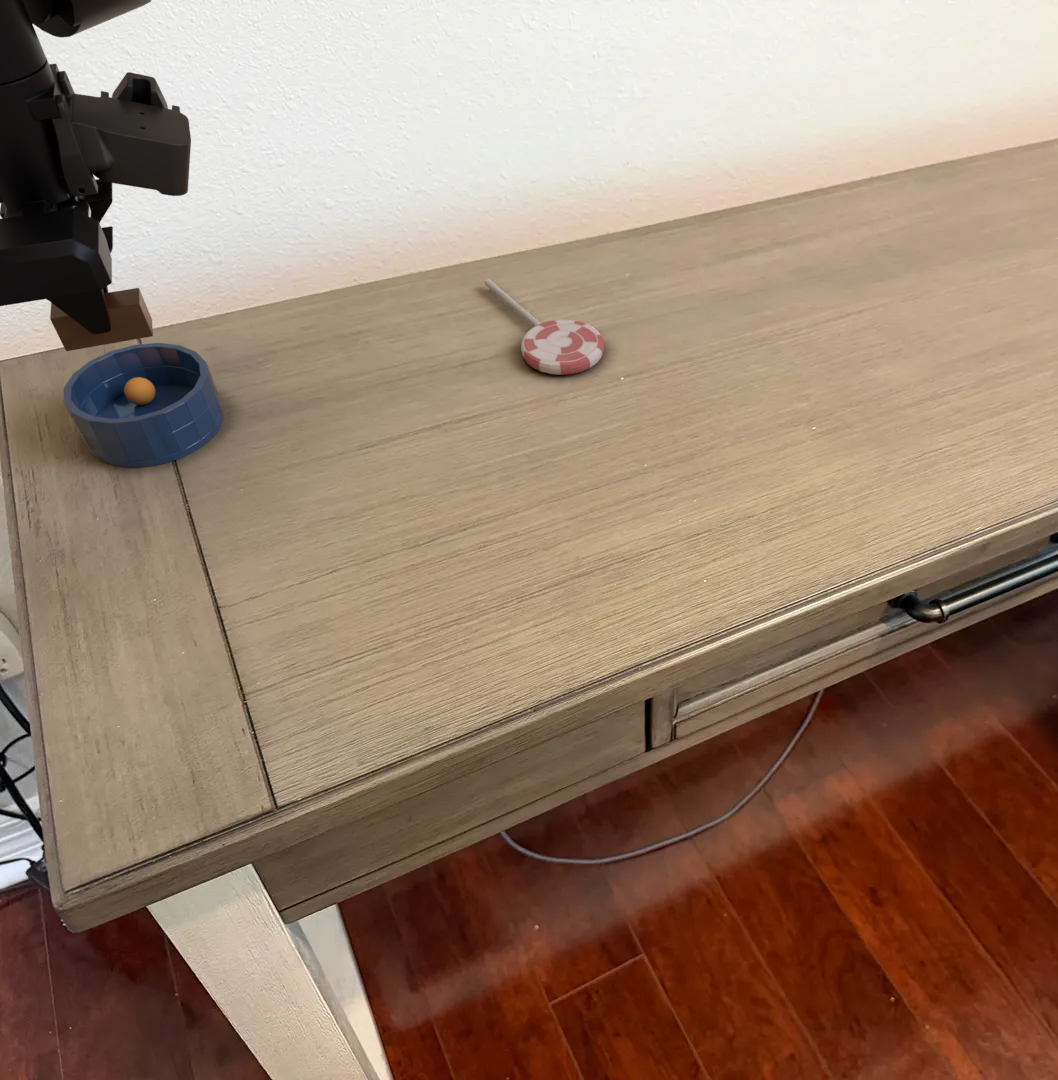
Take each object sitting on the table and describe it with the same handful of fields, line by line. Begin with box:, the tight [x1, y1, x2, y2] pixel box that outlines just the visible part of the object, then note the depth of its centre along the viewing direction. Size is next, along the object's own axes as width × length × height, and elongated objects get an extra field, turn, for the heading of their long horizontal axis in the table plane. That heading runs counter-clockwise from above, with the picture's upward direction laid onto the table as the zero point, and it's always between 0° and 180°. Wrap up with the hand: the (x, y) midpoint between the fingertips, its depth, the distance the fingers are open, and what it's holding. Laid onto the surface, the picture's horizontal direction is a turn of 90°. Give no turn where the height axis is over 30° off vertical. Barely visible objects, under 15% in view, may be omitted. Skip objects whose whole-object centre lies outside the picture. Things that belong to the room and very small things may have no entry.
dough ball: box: [124, 377, 156, 405], centre depth 75 cm, size 2×2×2 cm
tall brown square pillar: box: [49, 287, 154, 352], centre depth 65 cm, size 2×5×2 cm, turn 112°
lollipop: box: [484, 278, 605, 376], centre depth 85 cm, size 7×1×15 cm
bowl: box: [62, 342, 224, 468], centre depth 74 cm, size 9×9×4 cm
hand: (102, 322), depth 65 cm, fingers closed on tall brown square pillar, 2 cm apart
